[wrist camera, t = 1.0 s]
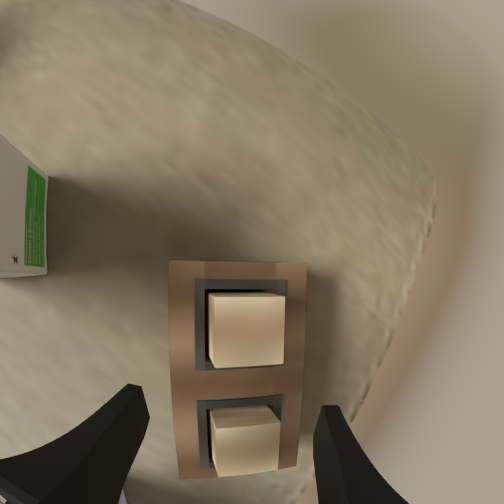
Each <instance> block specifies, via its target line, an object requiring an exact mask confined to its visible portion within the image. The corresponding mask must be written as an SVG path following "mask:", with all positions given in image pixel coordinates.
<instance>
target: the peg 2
mask: <svg viewBox="0 0 504 504" xmlns="http://www.w3.org/2000/svg"><path fill="white" fill-rule="evenodd" d="M280 426H281V422H280V421H279V419H278V418H277V417H276V416H275V415H274V413H273V412H272V411H271V410H270V408H269V407H268V406H267V405H258V406H248V407H235V408H221V409H208V434H209V448H210V451H211V454H212V458H213V461H214V464H215V468H216V471H217V474H218V477H227V476H236V475H245V474H253V473H260V472H266V471H272V470H278V459H279V443H280Z"/></svg>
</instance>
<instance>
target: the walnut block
mask: <svg viewBox="0 0 504 504" xmlns="http://www.w3.org/2000/svg"><path fill="white" fill-rule="evenodd" d="M205 289H257V292H267V293H271V294H276V295H280V296H285V326H284V359H283V364H275V365H262V366H248V367H229V368H215V367H214V365H213V363H212V361H211V359H210V357H209V355H208V353H207V350H206V344H205ZM306 289H307V263H272V262H226V261H186V260H169V350H170V374H171V392H172V407H173V420H174V431H175V441H176V451H177V460H178V469H179V477H180V479H195V478H212V477H218V474H217V471H216V468H215V464H214V461H213V458H212V454H211V451H210V448H209V434H208V432H207V415H206V409H221V408H235V407H248V406H258V405H267V406H268V407H269V408H270V410H271V411H272V412H273V413H274V415H275V416H276V417H277V418H278V419H279V421H280V422H281V426H280V443H279V459H278V469H283V468H288V467H293V466H296V464H297V453H298V443H299V431H300V418H301V405H302V389H303V372H304V352H305V327H306Z"/></svg>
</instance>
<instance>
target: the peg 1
mask: <svg viewBox="0 0 504 504" xmlns="http://www.w3.org/2000/svg"><path fill="white" fill-rule="evenodd" d="M284 326H285V296H280V295H276V294H271V293H267V292H206V350H207V353H208V355H209V357H210V359H211V361H212V363H213V365H214V367H215V368H229V367H248V366H262V365H275V364H283V359H284Z"/></svg>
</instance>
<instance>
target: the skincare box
mask: <svg viewBox="0 0 504 504" xmlns="http://www.w3.org/2000/svg"><path fill="white" fill-rule="evenodd" d="M47 191H48V176H47V175H46V174H45V173H44V172H43V171H42V170H40V169H39V168H38V167H37V166H36V165H35V164H33V163H32V162H31V161H30V160H29V159H28V158H27V157H26V156H24V155H23V154H22V153H21V152H20V151H19V150H18V149H16V148H15V147H14V146H13V145H12V144H11V143H10V142H9V141H8V140H7V139H6V138H4V137H3V136H2V135H1V134H0V278H12V277H25V276H36V275H46V274H47V256H46V248H47V238H46V213H47Z"/></svg>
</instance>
